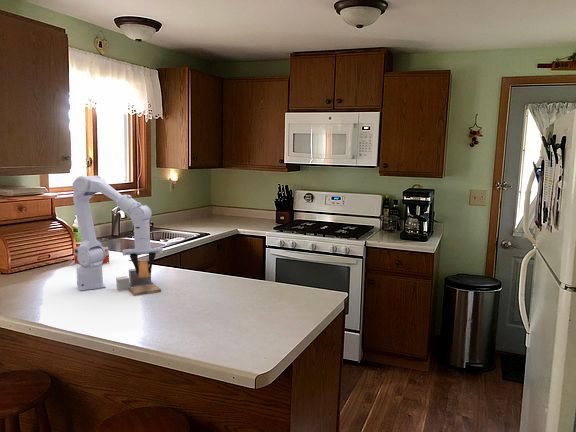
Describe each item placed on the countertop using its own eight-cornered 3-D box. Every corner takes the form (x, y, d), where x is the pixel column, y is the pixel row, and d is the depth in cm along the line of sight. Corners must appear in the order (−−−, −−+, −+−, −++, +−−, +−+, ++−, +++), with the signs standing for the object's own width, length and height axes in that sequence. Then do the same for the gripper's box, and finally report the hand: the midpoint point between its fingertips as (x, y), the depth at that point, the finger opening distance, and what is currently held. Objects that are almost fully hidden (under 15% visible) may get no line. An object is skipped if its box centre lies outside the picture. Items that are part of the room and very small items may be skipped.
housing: (130, 287, 189) (129, 271, 189) (127, 284, 193) (127, 269, 192) (153, 283, 194) (152, 268, 193) (150, 281, 198) (149, 266, 197)
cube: (118, 291, 184) (118, 279, 183) (116, 288, 187) (116, 277, 187) (129, 289, 186) (129, 278, 185) (127, 287, 189) (126, 276, 189)
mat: (134, 295, 177) (133, 293, 177) (128, 290, 185) (128, 287, 185) (160, 291, 182) (160, 289, 182) (154, 286, 190) (154, 284, 190)
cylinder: (142, 278, 180) (141, 262, 179) (136, 276, 182) (135, 261, 182) (151, 276, 183) (150, 260, 182) (145, 274, 186) (144, 259, 185)
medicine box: (109, 262, 235) (108, 246, 234) (97, 266, 227) (96, 249, 226) (86, 260, 241) (85, 244, 240) (73, 263, 233) (72, 247, 232)
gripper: (162, 235, 187) (163, 269, 188) (123, 236, 183) (125, 271, 185) (161, 238, 180) (163, 273, 181) (121, 239, 176) (123, 275, 178)
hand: (143, 272), depth 183 cm, fingers closed on cylinder, 4 cm apart
